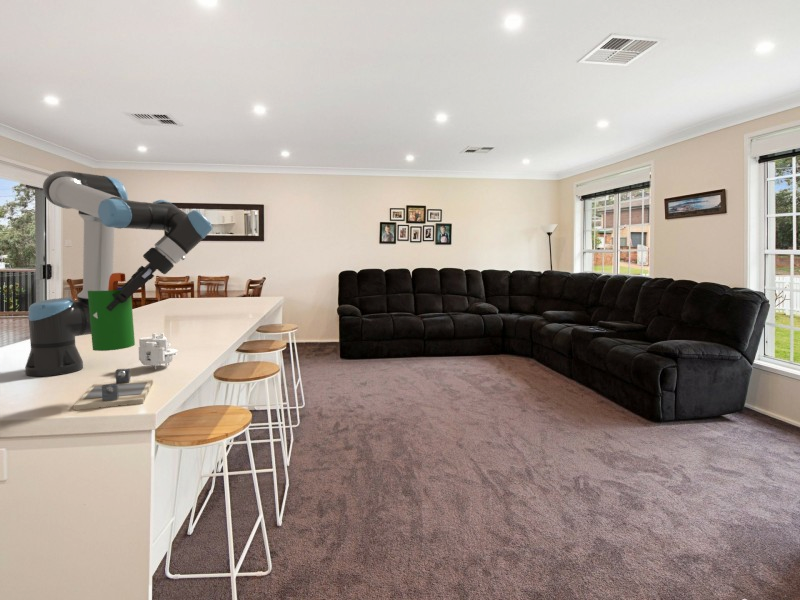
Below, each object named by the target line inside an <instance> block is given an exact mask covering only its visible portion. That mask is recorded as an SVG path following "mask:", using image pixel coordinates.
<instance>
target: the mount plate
mask: <svg viewBox="0 0 800 600" xmlns="http://www.w3.org/2000/svg"><path fill="white" fill-rule="evenodd" d="M111 383H113V384H116V380H115V381H107V382H106V381H103V382H94V383H93V384H92V385H91V386H90V387H89V389H87V390H86V391H85V393H84V394H83V395H82V396H81V397H80V398H79V399H78V400H77V401H76V402H75V403H74V405H73V411H78V410H89V409H100V408H99V407H101V408H108V406H111V407H119V406H118V405H121V406H128V405H127V404H132V405H140V404H144V402H145V400H146V398H147V396H148V394H149V392H150V390H151V388H152V386H153V384H154V378H143V379H130V382H129V383H122V384H118V393H119V398H118V400H114V401H103V400H102V386H103V385H107V384H111ZM106 406H107V407H106Z"/></svg>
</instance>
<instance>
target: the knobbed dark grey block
mask: <svg viewBox="0 0 800 600" xmlns="http://www.w3.org/2000/svg"><path fill="white" fill-rule="evenodd" d="M118 398H119V393H118V384H113V383H111V384H107V385H103V386H102V400H103V401H114V400H118Z"/></svg>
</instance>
